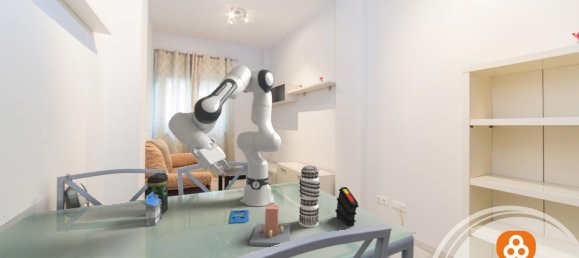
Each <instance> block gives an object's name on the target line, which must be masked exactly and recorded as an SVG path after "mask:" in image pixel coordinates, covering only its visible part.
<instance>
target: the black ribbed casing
mask: <svg viewBox="0 0 579 258" xmlns="http://www.w3.org/2000/svg"><path fill="white" fill-rule="evenodd" d="M338 191H339V193H338V197H336V201H337V202H336V209H335V214H336V219H338V220H340V221H341V222H342V223H344V224H345V225H347V227H349V226H351V227H352V226H355V223H356V222H357V221H356V220H355V218H356V217H355V216H356V215H357V212H356V211H357V208H359V206H360V205H359V202H358V201H357V199H356V198H355V196H354V195H353V194H352V193H351V191H350V190H349V188H348V187H347V186H341V187H340V188H338Z"/></svg>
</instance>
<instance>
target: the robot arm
mask: <svg viewBox="0 0 579 258" xmlns="http://www.w3.org/2000/svg"><path fill="white" fill-rule="evenodd" d="M274 82H275V78H274V75H273V73H272V71H270V70H269V69H259V70H257V69H256V70H250V69H249V68H248V67H247V66H246V65H243V64H239V65H236V66H235V67H234V68H232V69H231V70H229V71H228V72H227V73H226V74H225V76H224V77H223V78H222V80H221V81H220V83H219V85H218V86H217V87H216V88H215V89H214V90H213V91H212V92H211V93H210V94H209V95H207V96H204V97H201V98H199V99H198V100H196V101H195V104H194V107H193V111H192V112H181V111H178V112H176V113H175V114H174V115H173V116H172V117H171V118H170V120H169V121H168V129H169V131H170V132H171V134H172V135H173V136H174V137H175V138H176V139H177V140H178V141H179V142H180V143H182V144H183V145H184V146H185V148H186V149H187V151H188V152H190V153H191V155H192V157H193V159H194V160H195V161H196V163H197V164H198V165H199V166H200V167H201V168H202V169H203V170H204V171H207V170H211V171H212V172H215V173H216V174H217V175H218V176H222V174H224V170H225V171H228V170H229V169H230V168H231V166H229V164H228V162H227V161H226V158H227V156H226V154H225V152H224V151H223V150H222V148H221V147H220V146H218V144H216V143H217V142H216V140H215V139H212V138H210V137H209V136H207V134H208V133H210V132H211V131H212V130H213V129H214V128H215V126H216V124H217V121H218V120H219V118H220V116H221V115H222V112H223V111H222V110H223V105H224V104H225V103H226V102H227V101H228V99H230V100H231V99H232V100H235V99H237V98H238V97H240V96H241V95H242V94H243V93H244V94H245V93H252V94H253V96H252V97H253V100H252V104H251V113H250V119H251V120H250V121H251V122H252V123H253V124H254V125H256V126H257V128H258V131H250V130H249V131H243V132H240V133H239V134H238V135H237V137H236V145H237V148H238V149H239V150H240V151H241V152H242V153H243V154H244V156H245V159H246V164H247V177H246V185H245V186H244V187H243V197H242V198H241V199H240V203H242V204H245V205H246V206H250V207H263V206H264V207H265V206H267V205H273V204H275V199H274V195H273V193H272V188H271V186H270V184H269V183H270V177H269V162H268V161H267V160H266V159H265V158H263V156H262V155H261V153H273V152H275V153H276V152H278V151H279V149H280V148H281V145H282V140H281V139H282V138H281V137H280V135H279V134H278V133H277V132H276V131H275V129H274V128H273V124H272V110H273V109H272V108H273V97H272V96H273V95H272V92H271V91H272V88H273V86H274ZM218 164H220V165H221V166H222V167H223V169H224V170H223V169H222V168H220V167H218Z"/></svg>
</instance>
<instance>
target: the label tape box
mask: <svg viewBox="0 0 579 258" xmlns="http://www.w3.org/2000/svg"><path fill="white" fill-rule="evenodd" d="M153 194H154V191H153V192H152V193H150V194H149V195H148V194H147V195H146V196H145V225H146V227H154V226H156V225H157V224H158V223H159V222H160V220H161V219H162V218H163V214H162V200H161V199H158V198H155V197H153ZM149 196H151V197H150V198H149ZM148 198H149V199H148Z"/></svg>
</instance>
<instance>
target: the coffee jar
mask: <svg viewBox="0 0 579 258" xmlns="http://www.w3.org/2000/svg"><path fill="white" fill-rule="evenodd" d="M168 178H169V176H168V174H167V173H165V172H156V173H154V174H153V175H149V176H148V177H147V178H146V185H147V186H146V187H147V196H148V195H149V194H150V193H152V192H153V191H154V194H153V197H155V198H158V199H161V200H162V215H163V214H165V212H167V211H168V209H169V200H168V199H169V197H168V196H169V195H168V185H169V183H168V182H169V179H168ZM150 197H151V196H149V198H150ZM149 198H148V199H149Z"/></svg>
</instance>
